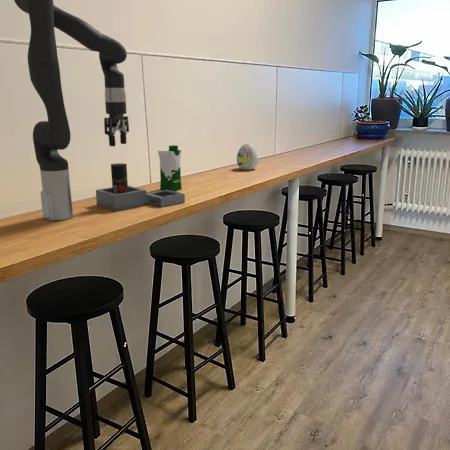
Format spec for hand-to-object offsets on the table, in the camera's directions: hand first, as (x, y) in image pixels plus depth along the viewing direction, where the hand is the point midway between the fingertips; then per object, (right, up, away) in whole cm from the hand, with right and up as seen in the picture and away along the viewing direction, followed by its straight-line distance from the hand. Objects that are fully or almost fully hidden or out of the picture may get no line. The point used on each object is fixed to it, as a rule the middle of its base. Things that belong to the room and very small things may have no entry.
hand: (118, 145), depth 171 cm
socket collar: (+16, -21, +11) cm, 29 cm away
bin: (0, -22, +7) cm, 23 cm away
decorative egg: (+54, +2, +91) cm, 106 cm away
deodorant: (0, -22, +6) cm, 23 cm away
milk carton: (+16, -14, +35) cm, 41 cm away
